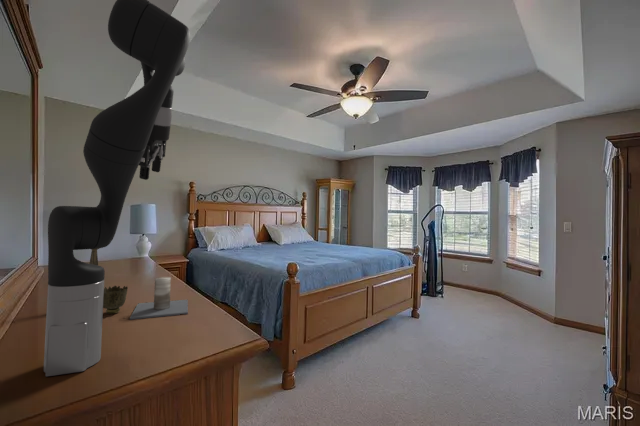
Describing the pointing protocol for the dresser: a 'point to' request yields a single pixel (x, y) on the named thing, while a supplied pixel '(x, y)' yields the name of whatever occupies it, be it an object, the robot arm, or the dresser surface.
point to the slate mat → (148, 310)
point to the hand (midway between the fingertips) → (150, 175)
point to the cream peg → (162, 293)
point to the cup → (114, 298)
